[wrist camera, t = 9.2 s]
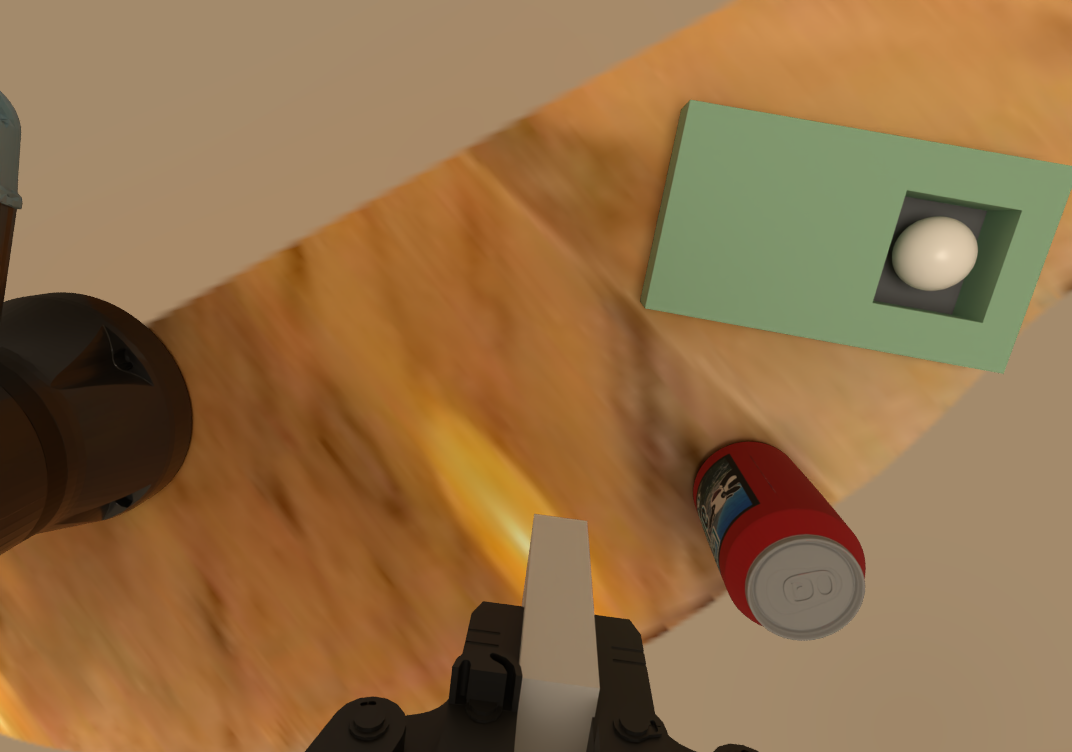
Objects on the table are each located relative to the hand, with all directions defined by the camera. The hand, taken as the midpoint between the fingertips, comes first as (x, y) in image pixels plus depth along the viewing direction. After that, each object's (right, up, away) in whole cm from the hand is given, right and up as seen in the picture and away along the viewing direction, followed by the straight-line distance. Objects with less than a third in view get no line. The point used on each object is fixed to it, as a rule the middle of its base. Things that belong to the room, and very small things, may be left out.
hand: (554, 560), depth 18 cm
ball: (+21, +12, +17) cm, 30 cm away
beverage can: (+13, -2, +23) cm, 27 cm away
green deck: (+17, +13, +19) cm, 29 cm away
